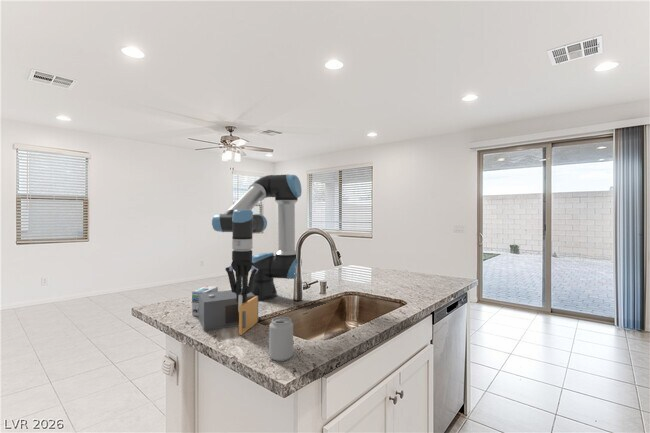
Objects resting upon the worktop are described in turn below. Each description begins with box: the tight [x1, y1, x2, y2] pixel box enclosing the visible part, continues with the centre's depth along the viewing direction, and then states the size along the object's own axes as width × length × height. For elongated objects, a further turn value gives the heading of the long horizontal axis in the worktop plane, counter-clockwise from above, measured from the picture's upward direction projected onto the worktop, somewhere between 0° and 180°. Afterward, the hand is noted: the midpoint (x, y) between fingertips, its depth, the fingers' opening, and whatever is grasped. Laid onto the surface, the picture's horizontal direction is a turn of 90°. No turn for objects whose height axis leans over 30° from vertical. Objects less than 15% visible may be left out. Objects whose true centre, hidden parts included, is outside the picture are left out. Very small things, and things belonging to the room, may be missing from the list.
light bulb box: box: [191, 285, 219, 317], centre depth 142 cm, size 11×7×11 cm, turn 168°
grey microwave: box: [198, 289, 255, 332], centre depth 132 cm, size 21×14×12 cm
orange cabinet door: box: [238, 296, 259, 336], centre depth 123 cm, size 15×2×10 cm, turn 168°
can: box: [268, 316, 294, 362], centre depth 100 cm, size 8×8×12 cm
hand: (241, 310), depth 121 cm, fingers closed
